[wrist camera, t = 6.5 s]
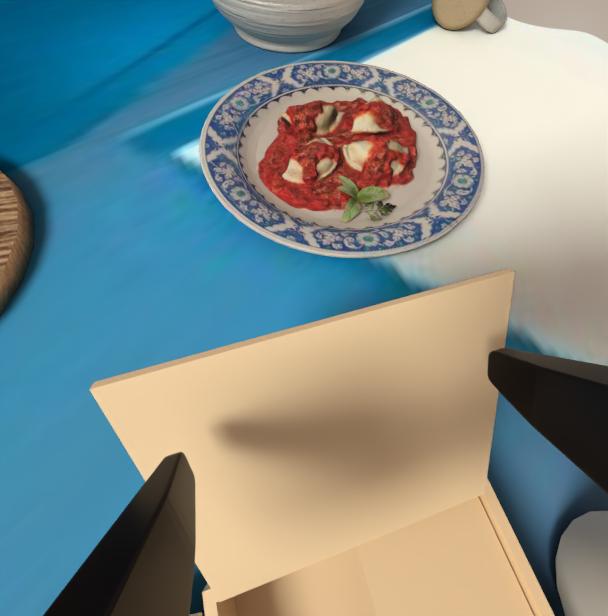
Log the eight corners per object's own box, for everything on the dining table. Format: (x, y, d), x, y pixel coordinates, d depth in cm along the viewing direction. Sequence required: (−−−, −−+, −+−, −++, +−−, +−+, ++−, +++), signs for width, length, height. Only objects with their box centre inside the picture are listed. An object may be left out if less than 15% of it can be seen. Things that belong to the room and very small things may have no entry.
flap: (484, 493, 14) (515, 271, 9) (219, 602, 12) (89, 389, 7) (477, 485, 14) (504, 268, 9) (219, 589, 12) (95, 379, 8)
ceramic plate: (227, 75, 34) (222, 43, 31) (447, 90, 34) (461, 60, 32) (178, 262, 23) (163, 239, 21) (499, 280, 24) (526, 260, 21)
